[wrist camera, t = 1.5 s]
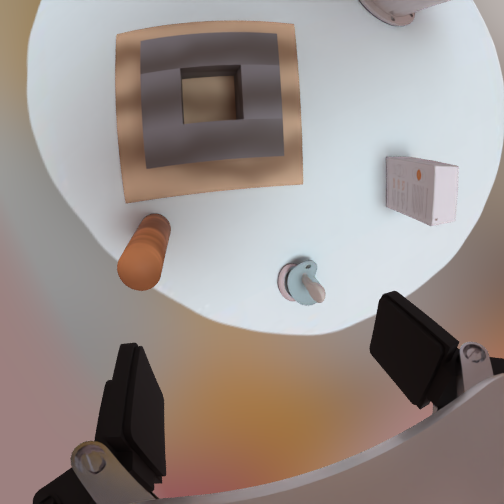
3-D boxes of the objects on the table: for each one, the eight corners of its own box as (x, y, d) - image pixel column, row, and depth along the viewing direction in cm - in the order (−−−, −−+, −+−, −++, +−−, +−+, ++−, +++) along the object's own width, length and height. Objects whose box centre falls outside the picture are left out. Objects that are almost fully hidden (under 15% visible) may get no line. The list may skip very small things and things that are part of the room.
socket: (118, 37, 23) (105, 19, 17) (291, 26, 27) (308, 9, 21) (127, 201, 31) (115, 213, 26) (300, 183, 35) (319, 191, 30)
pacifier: (283, 305, 42) (319, 291, 42) (295, 330, 36) (335, 314, 37) (271, 265, 39) (311, 251, 39) (283, 287, 33) (328, 270, 34)
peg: (137, 216, 32) (112, 252, 22) (168, 211, 33) (156, 245, 22) (143, 245, 34) (123, 292, 23) (172, 241, 35) (165, 287, 24)
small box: (409, 204, 40) (455, 223, 30) (385, 207, 39) (431, 228, 30) (410, 156, 37) (460, 165, 27) (385, 155, 36) (435, 165, 26)
